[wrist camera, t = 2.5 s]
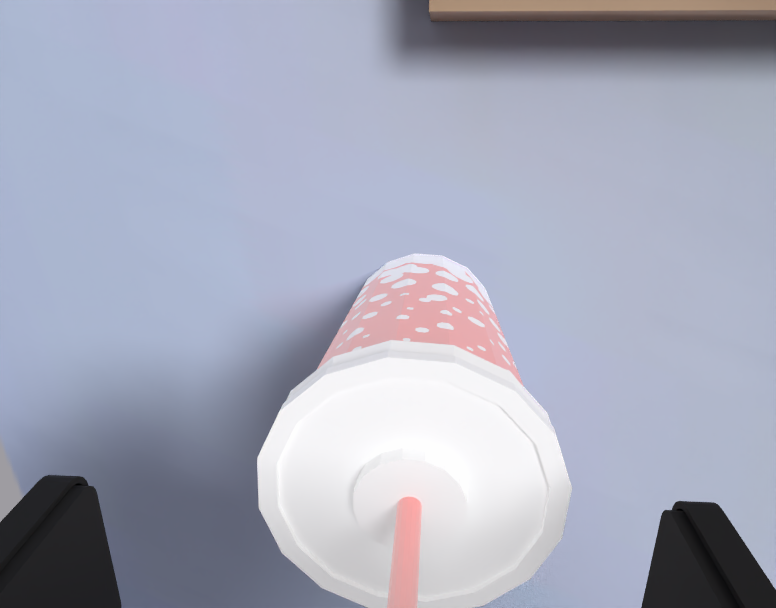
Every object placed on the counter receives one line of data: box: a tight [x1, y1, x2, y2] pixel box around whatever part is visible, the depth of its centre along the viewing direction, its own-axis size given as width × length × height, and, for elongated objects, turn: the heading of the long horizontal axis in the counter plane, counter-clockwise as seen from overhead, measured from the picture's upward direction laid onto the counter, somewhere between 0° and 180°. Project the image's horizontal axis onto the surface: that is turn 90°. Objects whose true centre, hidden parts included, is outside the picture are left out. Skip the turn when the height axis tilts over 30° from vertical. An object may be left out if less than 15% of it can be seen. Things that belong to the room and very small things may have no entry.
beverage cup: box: [257, 254, 572, 608], centre depth 13 cm, size 6×6×14 cm
